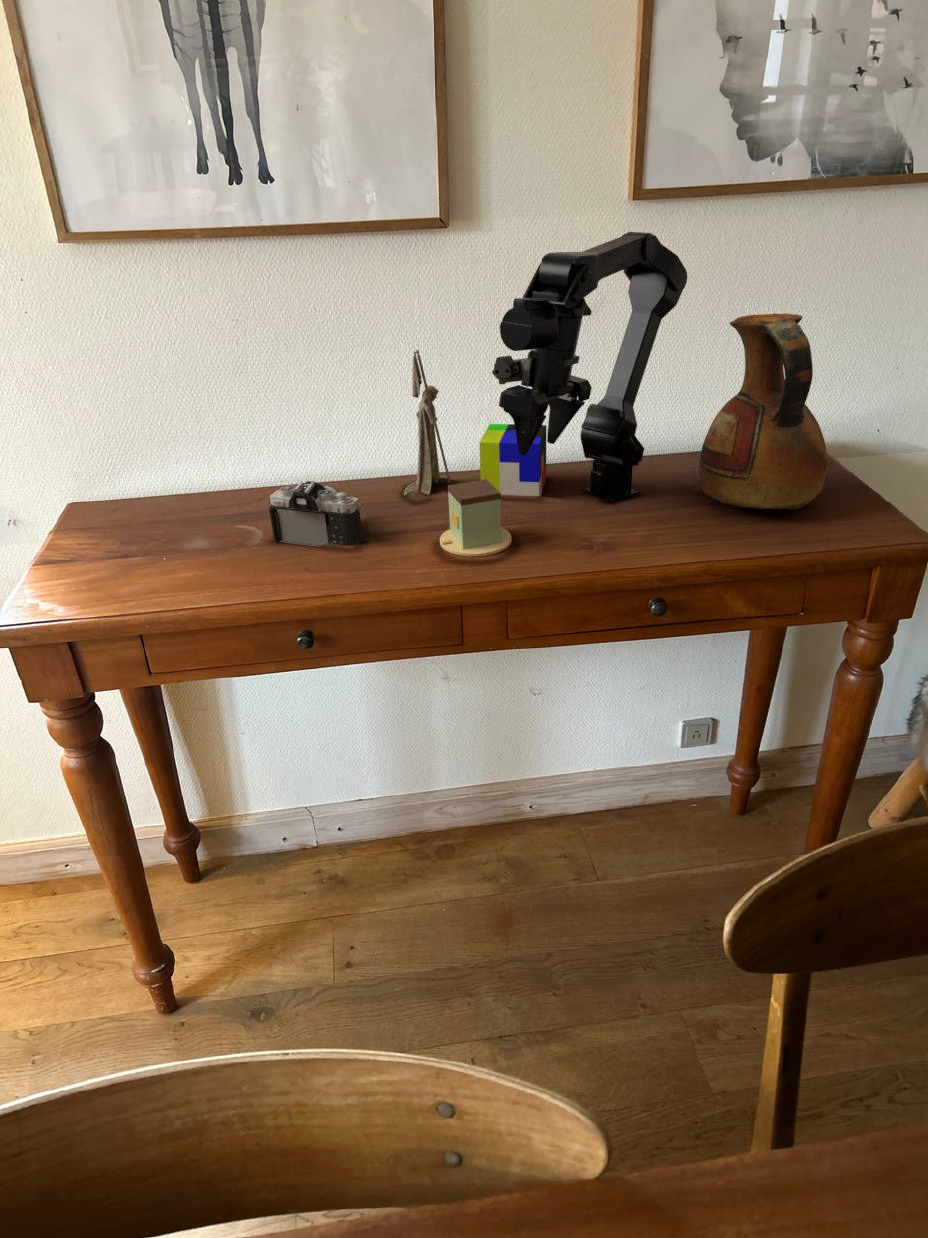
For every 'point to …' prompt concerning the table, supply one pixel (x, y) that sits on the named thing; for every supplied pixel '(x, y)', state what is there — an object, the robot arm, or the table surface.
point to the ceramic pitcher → (767, 423)
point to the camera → (315, 515)
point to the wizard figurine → (426, 433)
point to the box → (475, 520)
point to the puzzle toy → (513, 461)
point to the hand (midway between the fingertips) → (536, 448)
